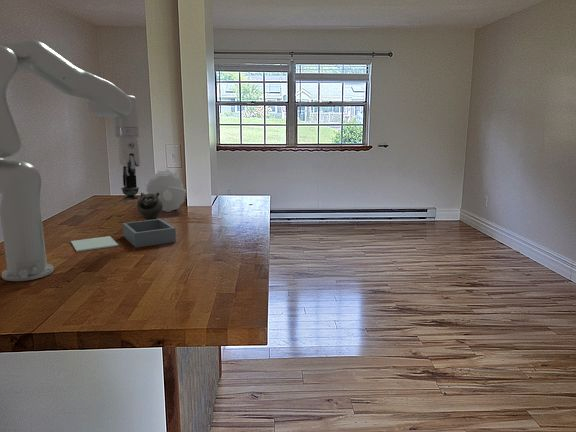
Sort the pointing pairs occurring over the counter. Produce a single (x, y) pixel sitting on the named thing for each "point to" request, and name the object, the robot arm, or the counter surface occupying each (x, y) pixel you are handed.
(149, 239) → the crate
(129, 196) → the stone chess piece
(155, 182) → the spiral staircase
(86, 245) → the mat
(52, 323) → the counter surface
